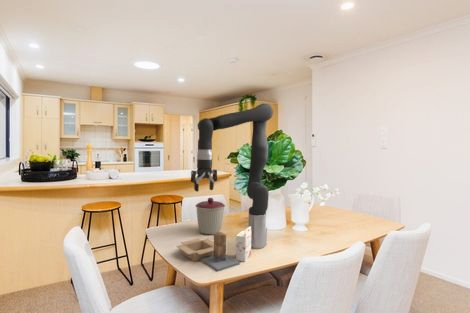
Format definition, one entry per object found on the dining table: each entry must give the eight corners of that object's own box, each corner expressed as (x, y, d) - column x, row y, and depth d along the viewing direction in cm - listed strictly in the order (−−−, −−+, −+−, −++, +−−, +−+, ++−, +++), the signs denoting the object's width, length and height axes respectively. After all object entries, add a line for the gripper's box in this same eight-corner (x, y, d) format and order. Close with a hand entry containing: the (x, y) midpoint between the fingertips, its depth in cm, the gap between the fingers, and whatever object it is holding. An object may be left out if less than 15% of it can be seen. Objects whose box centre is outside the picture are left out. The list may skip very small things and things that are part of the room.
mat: (221, 254, 134) (221, 252, 134) (239, 264, 123) (239, 262, 123) (200, 260, 126) (200, 257, 126) (217, 271, 115) (217, 269, 115)
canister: (188, 233, 163) (189, 198, 162) (205, 225, 179) (206, 194, 178) (214, 239, 155) (215, 202, 154) (230, 230, 171) (230, 197, 170)
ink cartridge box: (241, 253, 135) (242, 224, 134) (251, 255, 133) (251, 225, 132) (235, 260, 127) (235, 229, 126) (245, 262, 125) (246, 230, 124)
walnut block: (220, 257, 127) (221, 231, 127) (225, 260, 124) (226, 234, 124) (213, 259, 125) (213, 233, 124) (218, 262, 122) (218, 235, 121)
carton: (204, 244, 146) (204, 237, 146) (224, 255, 132) (224, 247, 132) (173, 252, 135) (173, 244, 134) (191, 265, 120) (191, 256, 120)
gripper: (196, 159, 130) (195, 193, 131) (220, 158, 139) (219, 190, 140) (188, 158, 136) (187, 190, 137) (212, 158, 145) (211, 188, 145)
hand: (204, 190), depth 138 cm, fingers open, 8 cm apart
